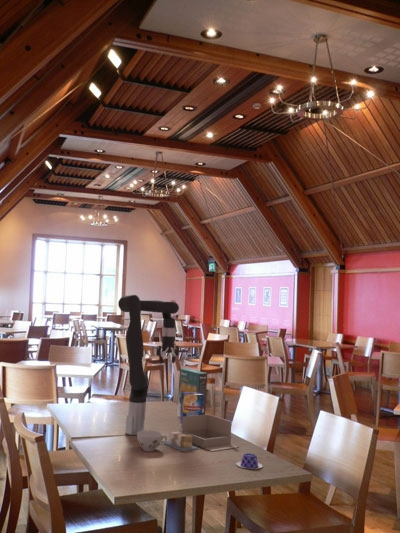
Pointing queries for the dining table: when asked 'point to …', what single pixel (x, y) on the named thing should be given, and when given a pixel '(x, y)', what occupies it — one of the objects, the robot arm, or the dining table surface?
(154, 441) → the teacup
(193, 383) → the cake mix box
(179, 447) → the mat
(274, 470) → the dining table surface
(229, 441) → the carton
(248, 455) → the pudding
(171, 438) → the block
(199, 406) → the beverage box
